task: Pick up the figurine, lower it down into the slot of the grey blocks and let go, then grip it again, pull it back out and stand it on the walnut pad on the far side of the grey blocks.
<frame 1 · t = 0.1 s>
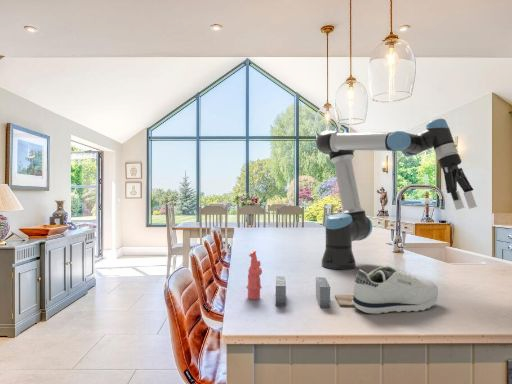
hand: (466, 208, 139), 28 cm above the kitchen island, tool tilted 20°, fingers open, 13 cm apart
running shoe: (397, 306, 108), on the kitchen island, touching pad
figurine: (253, 298, 117), on the kitchen island
pad: (353, 301, 113), on the kitchen island
grey blocks: (301, 300, 114), on the kitchen island
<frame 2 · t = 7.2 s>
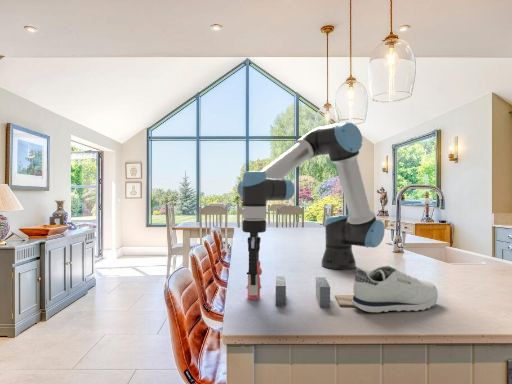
hand: (253, 292, 117), 2 cm above the kitchen island, tool pointing down, fingers closed on figurine, 5 cm apart
figurine: (253, 298, 117), on the kitchen island, touching gripper
everything else where it was.
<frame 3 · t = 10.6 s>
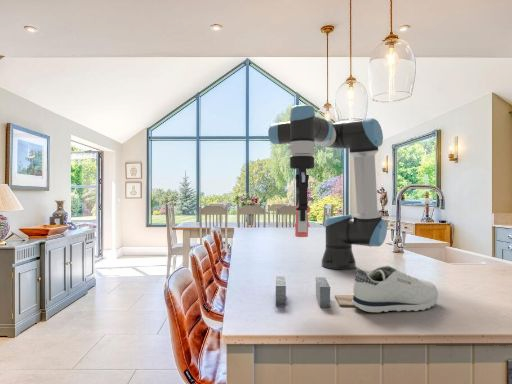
hand: (301, 230, 114), 22 cm above the kitchen island, tool pointing down, fingers closed on figurine, 5 cm apart
figurine: (301, 237, 114), point 20 cm above the kitchen island, touching gripper
everything else where it was.
when the fingers open (3 cm above the kitchen island, at t = 14.1 s): figurine drops 1 cm, on the kitchen island.
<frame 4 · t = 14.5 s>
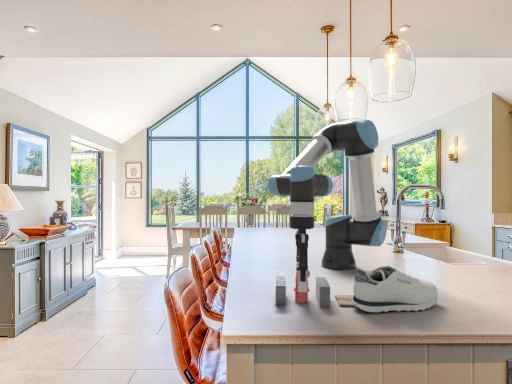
hand: (301, 287, 114), 4 cm above the kitchen island, tool pointing down, fingers open, 10 cm apart
figurine: (301, 301, 114), on the kitchen island
everything else where it was.
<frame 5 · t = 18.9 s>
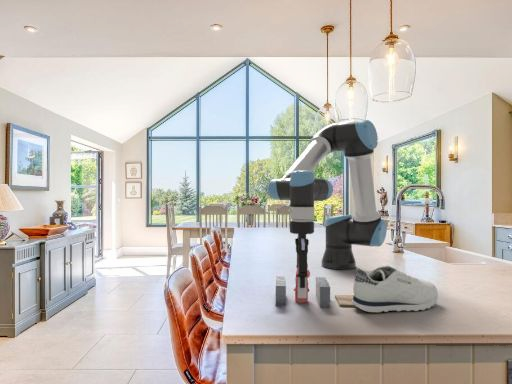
hand: (301, 295, 114), 2 cm above the kitchen island, tool pointing down, fingers closed on figurine, 5 cm apart
figurine: (301, 301, 114), on the kitchen island, touching gripper
everything else where it was.
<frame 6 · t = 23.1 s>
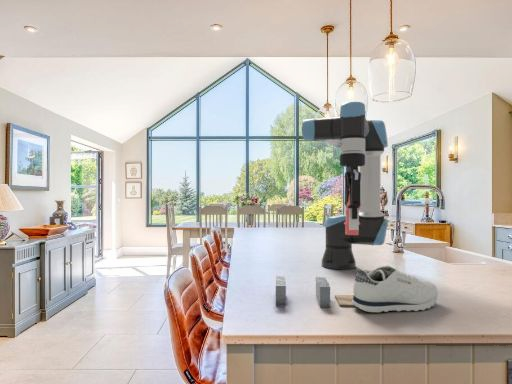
hand: (352, 228, 113), 23 cm above the kitchen island, tool pointing down, fingers closed on figurine, 5 cm apart
figurine: (352, 235, 113), point 21 cm above the kitchen island, touching gripper
everything else where it was.
when the fingers open (4 cm above the kitchen island, at t = 27.1 s): figurine drops 1 cm, resting on pad.
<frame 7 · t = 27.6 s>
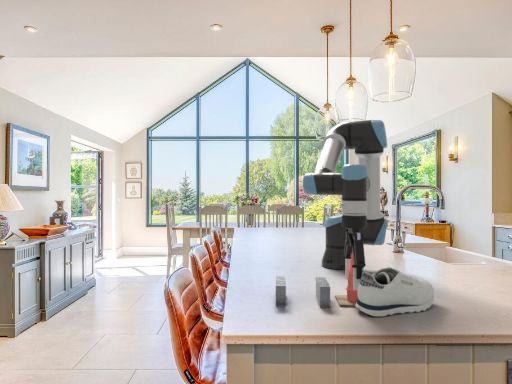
hand: (353, 284, 113), 5 cm above the kitchen island, tool pointing down, fingers open, 12 cm apart
running shoe: (398, 307, 107), on the kitchen island
figurine: (353, 300, 113), resting on pad
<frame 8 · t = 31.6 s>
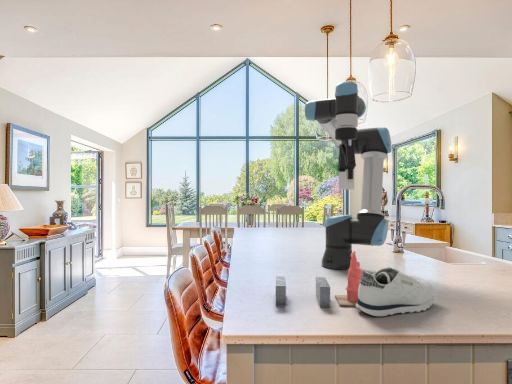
hand: (345, 189, 127), 35 cm above the kitchen island, tool pointing down, fingers open, 13 cm apart
running shoe: (398, 308, 107), on the kitchen island, touching pad
everything else where it was.
at the end: figurine inside the target area on the pad (0.1 cm from its centre), point 0.4 cm above the pad's base; figurine tilted 0°; the gripper is holding nothing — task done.
